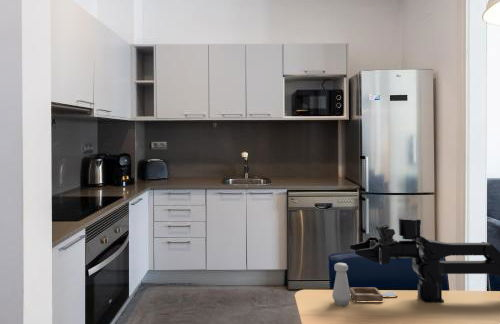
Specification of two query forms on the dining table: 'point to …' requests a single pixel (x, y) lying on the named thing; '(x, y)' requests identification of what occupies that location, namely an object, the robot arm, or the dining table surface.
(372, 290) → the walnut socket
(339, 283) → the salt shaker
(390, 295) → the grey rectangular slab
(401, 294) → the dining table surface
